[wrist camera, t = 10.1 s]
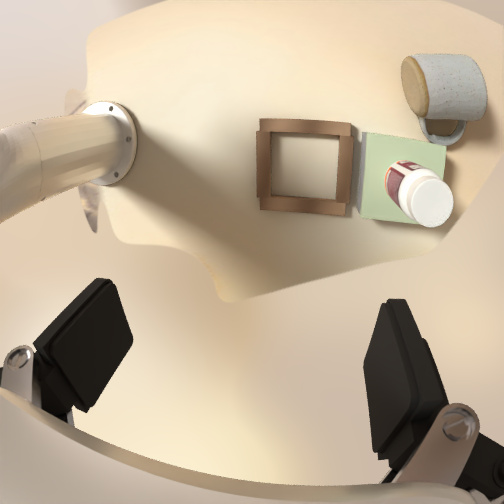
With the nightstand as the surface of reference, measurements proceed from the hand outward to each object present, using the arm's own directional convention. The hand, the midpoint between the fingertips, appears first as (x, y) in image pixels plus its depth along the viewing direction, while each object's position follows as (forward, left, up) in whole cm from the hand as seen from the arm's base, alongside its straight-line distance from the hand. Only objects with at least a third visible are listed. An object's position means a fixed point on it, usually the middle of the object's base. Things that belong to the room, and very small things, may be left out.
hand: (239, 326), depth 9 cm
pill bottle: (+12, +1, -22) cm, 25 cm away
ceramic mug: (+17, +11, -27) cm, 33 cm away
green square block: (+12, +1, -26) cm, 29 cm away
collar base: (+1, +1, -26) cm, 26 cm away
